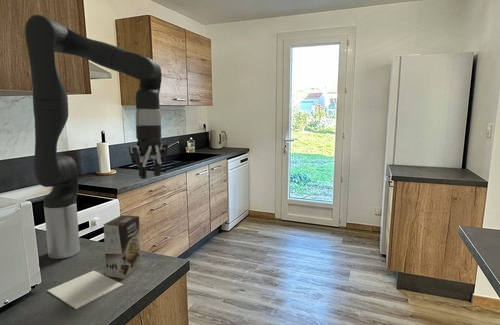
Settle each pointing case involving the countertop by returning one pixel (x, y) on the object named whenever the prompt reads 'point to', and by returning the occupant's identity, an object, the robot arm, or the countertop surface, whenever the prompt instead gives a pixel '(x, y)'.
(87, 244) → the countertop surface
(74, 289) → the mat
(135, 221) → the coffee box
